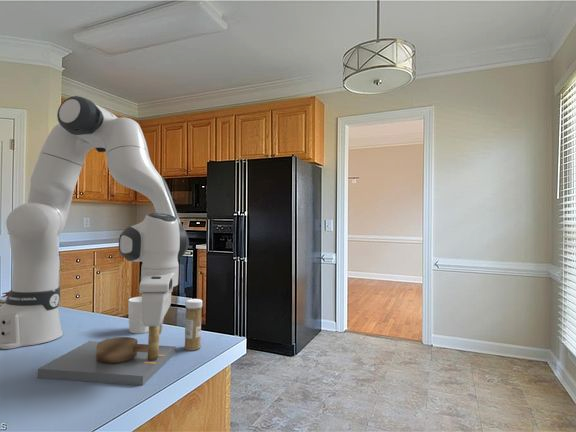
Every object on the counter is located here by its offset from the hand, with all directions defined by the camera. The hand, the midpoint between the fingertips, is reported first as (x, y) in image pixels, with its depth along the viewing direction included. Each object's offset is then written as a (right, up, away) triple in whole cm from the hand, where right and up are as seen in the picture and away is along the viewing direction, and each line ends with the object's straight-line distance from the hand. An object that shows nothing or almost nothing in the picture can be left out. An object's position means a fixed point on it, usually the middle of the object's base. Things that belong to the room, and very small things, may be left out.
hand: (157, 333), depth 88 cm
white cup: (-14, -7, +24) cm, 29 cm away
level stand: (-10, -7, -2) cm, 12 cm away
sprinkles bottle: (+6, -8, +11) cm, 14 cm away
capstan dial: (-6, -5, -3) cm, 8 cm away
